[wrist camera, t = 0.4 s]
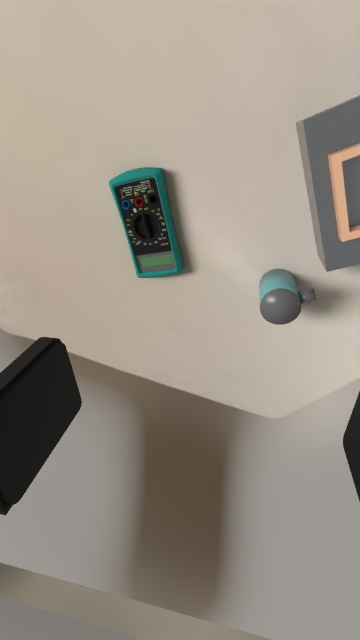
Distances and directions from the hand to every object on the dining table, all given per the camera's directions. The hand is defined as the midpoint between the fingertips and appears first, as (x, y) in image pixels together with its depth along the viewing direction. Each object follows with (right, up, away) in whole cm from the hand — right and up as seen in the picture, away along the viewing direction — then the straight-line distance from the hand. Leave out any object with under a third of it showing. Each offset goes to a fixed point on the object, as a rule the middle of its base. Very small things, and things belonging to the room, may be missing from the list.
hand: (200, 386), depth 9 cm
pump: (+14, +7, +34) cm, 37 cm away
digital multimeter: (-5, +16, +34) cm, 38 cm away
